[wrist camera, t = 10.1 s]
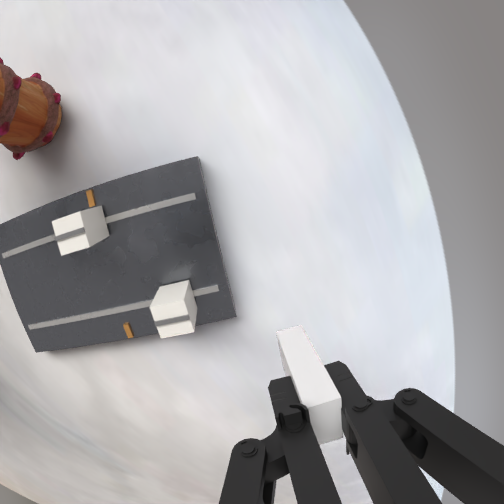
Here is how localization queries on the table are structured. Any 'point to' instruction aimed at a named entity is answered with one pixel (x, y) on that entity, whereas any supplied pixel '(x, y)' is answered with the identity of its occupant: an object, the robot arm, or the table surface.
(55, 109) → the mug
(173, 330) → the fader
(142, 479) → the table surface
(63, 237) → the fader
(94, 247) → the console
